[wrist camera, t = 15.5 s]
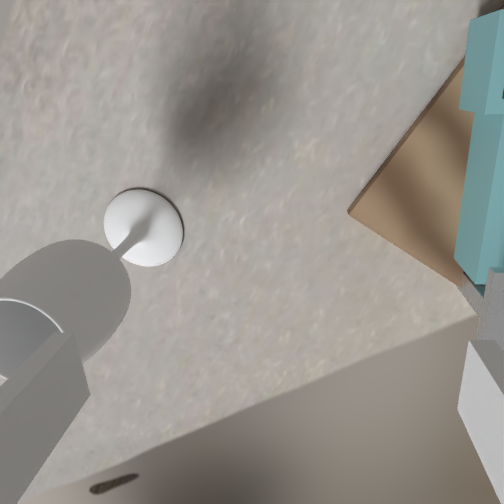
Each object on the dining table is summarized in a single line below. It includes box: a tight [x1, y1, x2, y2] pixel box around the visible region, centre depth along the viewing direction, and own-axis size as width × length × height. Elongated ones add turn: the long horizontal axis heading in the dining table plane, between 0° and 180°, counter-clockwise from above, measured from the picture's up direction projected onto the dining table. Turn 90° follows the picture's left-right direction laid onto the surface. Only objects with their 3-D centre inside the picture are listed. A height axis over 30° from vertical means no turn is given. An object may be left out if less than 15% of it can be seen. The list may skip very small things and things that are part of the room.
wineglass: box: [0, 189, 183, 380], centre depth 35 cm, size 9×9×21 cm
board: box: [347, 6, 504, 288], centre depth 37 cm, size 21×16×2 cm
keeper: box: [455, 267, 504, 352], centre depth 35 cm, size 7×6×12 cm
